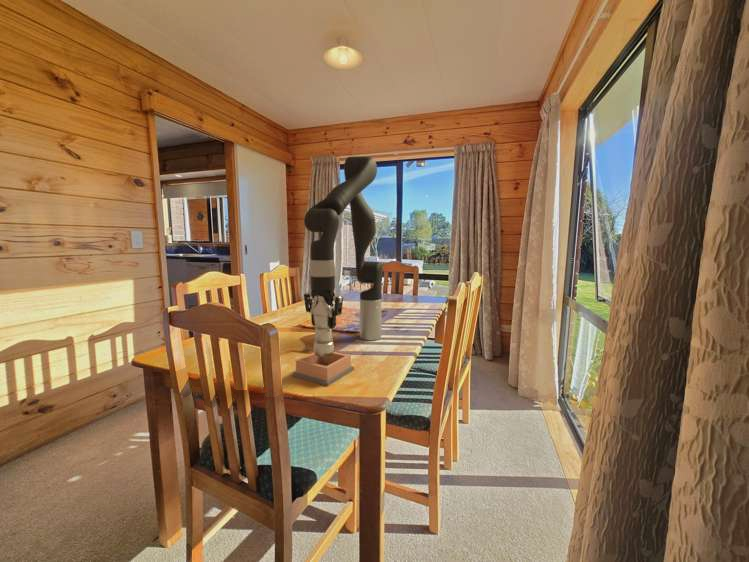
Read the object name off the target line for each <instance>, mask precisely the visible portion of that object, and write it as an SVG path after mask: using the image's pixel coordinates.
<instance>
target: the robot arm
mask: <svg viewBox="0 0 749 562" xmlns="http://www.w3.org/2000/svg"><path fill="white" fill-rule="evenodd" d="M377 172H378V165H377V162H376V160H375V159H374V157H372V156H348V157H347V158H345V161H344V165H343V173H344V179H345V181H343V182H341V183H339V184H338V185H336V186H334V188H332V190H330V192H329V193H328V194H327V195H326V196H325V198H323V199H322V200H320V201H319V202H317V203H316V204H314V205H313V206H312V207H311V208H309V209H308V210H307V212H306V213H305V216H304V219H303V224H304V226H305V229H307V230H308V231H309V232H312V233H322V234H321V236H320V238H319V239H317V240H313V241H312V242H311V243H310V265H309V269H310V273H309V277H310V290H311V292H305V293H304V294H303V300H304V305H305V306H304V307H305V312H306V313H310V314H309V315H311V324H312V326H313V327H315V321H314V315H313V310H314V307H315V306H316V304H317V303H318V301H317V299H318V296H317V295H321V296H323V295H324V296H323V297H321V301H322V303H323V304H324V307H325V309H326V311H328V314H329V329H332V330H333V329H335V327H336V326H337V316H340V315H342V313H343V311H342V310H343V301H344V297H343V295H340V296H338V295H336V294H335V288H336V273H335V272H336V271H335V270H336V269H335V259H334V257H335V256H334V253H335V251H334V249H335V248H334V247H335V244H336V243H335V242H336V238H337V234H338V230H339V227H340V215H341V214H342V213H344V211H345V210H346V208H347V207H348V205H349V209H350V216H351V228H352V229H351V230H352V234H353V242H354V252H355V253H354V254H355V272H356V273H355V274H356V278H357V281H358V283H362V284H373V285H372V287H371V288H369V289H365V290H363V291H361V292H360V293H359V338H360V339H361V340H363V341H378V340H380V339H381V338H382V332H383V331H382V325H383V324H382V323H383V322H382V321H383V316H382V287H383V286H382V283H383V264H382V263H381V262H380V261H373V260H372V261H370V260H367V261H365V255H366V252H367V250H368V249H369V246H370V245H371V243H372V241H373V239H374V238H375V235H376V232H377V229H376V217H375V214H374V212H373V210H372V209H371V207H370V206H369V204H368V203H367V201H366V200H365V198H364V196H363V194H362V192H363V191H364V189H366V188H367V187H368V186H370V185H371V184H372V183H373V181H374V180H376V177H377ZM330 305H331V307H329V306H330ZM331 309H332V311H333V313H332V311H331Z"/></svg>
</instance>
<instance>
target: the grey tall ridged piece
mask: <svg viewBox="0 0 749 562" xmlns="http://www.w3.org/2000/svg"><path fill="white" fill-rule="evenodd" d="M317 296H318V299H317V301H318V303H317V304H316V306H315V307H314V310H313V315H314V321H315V326H314V331H315V332H314V342H313V352H314V354H315V355H316V356H318V357H328V356H330V355H332V353H333V352H335V351H334V350H335V344H334V340H333V329H329V314H328V311H326V309H325V307H324V304H323V303H322V301H321V297H323V296H324V295H323V296H321V295H317ZM329 307H331V305H330V306H329ZM331 311H332V309H331ZM332 313H333V311H332Z"/></svg>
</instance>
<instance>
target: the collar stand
mask: <svg viewBox="0 0 749 562" xmlns="http://www.w3.org/2000/svg"><path fill="white" fill-rule="evenodd" d="M351 361H352V360H351V355H349V354H346V353H341V352H336V351H333V353H332V355H330V356H328V357H318V356H316V355H315V354H314V351H313V352H311V353H309V354H307V355H305V356H303V357H301V358H299V359H296V360H295V371H294V372H292V377H294V378H295V377H296V378H299V379H301V380H305V381H309V382H312V383H316V384H319V385H323V386H326V387H329V386H330V385H332V384H334V383H335V382H337V381H338V380H340V379H342V378H343V377H345V376H346V375H348V374H350V373H352V372H353V371H355V366H352V365H351V364H352V363H351Z"/></svg>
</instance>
